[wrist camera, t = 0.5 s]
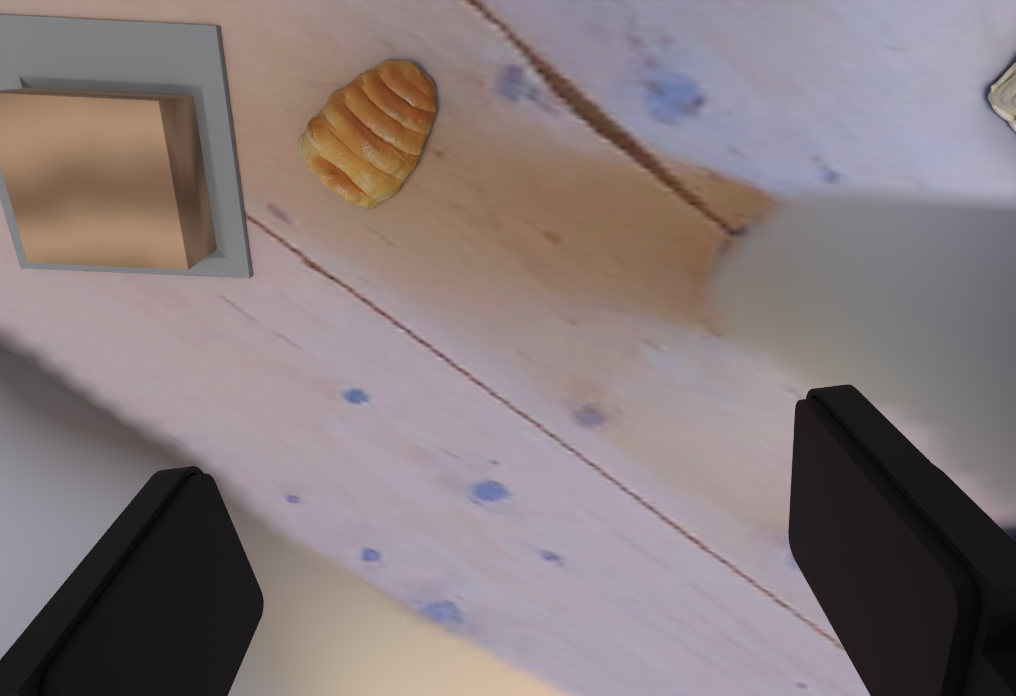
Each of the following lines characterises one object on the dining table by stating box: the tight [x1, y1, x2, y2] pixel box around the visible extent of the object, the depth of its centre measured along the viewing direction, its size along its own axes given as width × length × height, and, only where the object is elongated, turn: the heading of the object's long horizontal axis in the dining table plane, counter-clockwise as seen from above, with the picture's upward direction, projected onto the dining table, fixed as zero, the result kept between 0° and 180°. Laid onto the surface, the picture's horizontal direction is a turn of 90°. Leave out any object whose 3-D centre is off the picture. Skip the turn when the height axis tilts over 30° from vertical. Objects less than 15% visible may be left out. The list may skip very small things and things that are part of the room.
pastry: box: [298, 60, 436, 209], centre depth 40 cm, size 9×7×4 cm
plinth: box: [0, 77, 225, 270], centre depth 40 cm, size 11×11×5 cm
